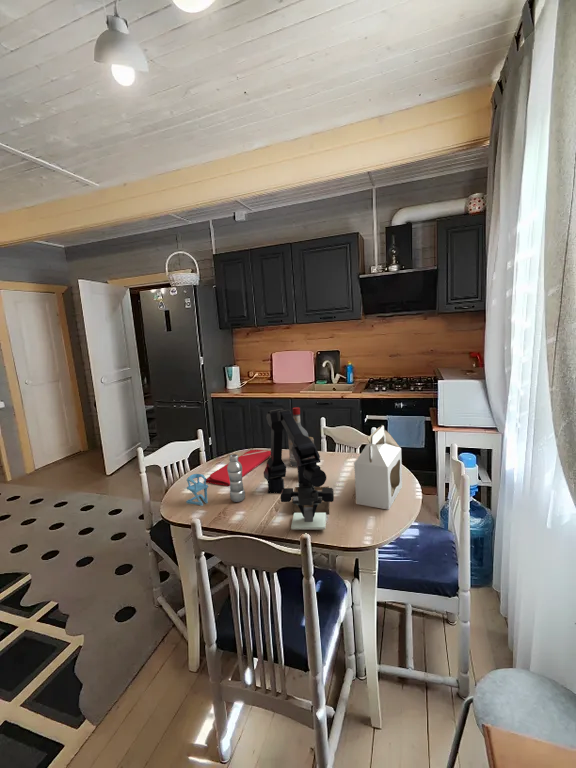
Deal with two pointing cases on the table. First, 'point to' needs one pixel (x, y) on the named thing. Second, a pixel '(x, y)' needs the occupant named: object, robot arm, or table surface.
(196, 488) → the chair
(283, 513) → the table surface
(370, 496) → the gable box
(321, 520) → the cover plate
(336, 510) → the table surface
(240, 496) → the plastic bottle
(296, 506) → the walnut box
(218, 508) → the table surface
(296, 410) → the liquor
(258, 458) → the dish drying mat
